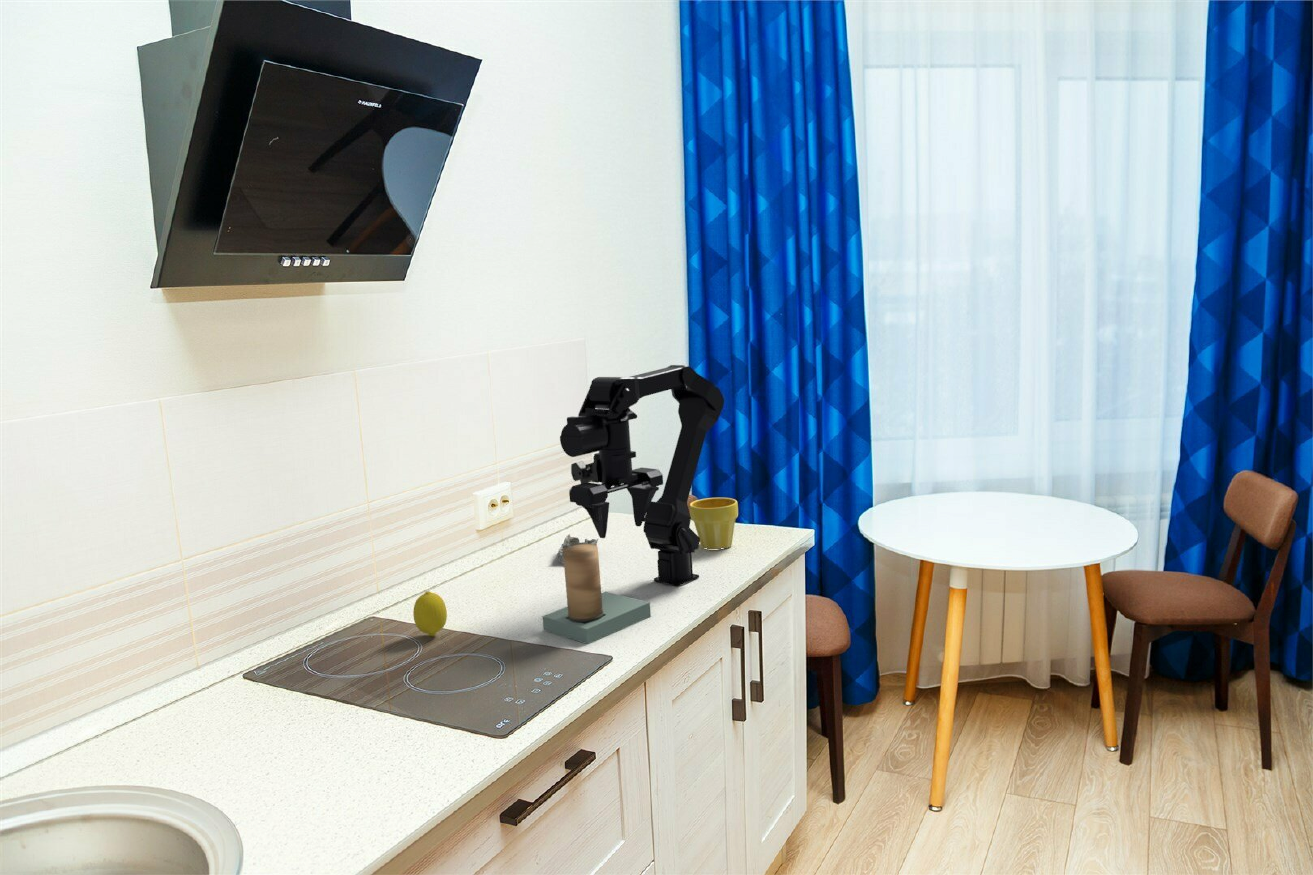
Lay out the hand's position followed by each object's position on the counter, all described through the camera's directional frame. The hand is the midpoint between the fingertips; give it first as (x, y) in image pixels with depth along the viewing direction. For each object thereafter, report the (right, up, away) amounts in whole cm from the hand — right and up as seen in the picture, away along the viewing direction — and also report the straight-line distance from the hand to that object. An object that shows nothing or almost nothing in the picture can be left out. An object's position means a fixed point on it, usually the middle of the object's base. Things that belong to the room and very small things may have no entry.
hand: (620, 531), depth 171 cm
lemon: (-32, -17, -9) cm, 37 cm away
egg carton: (-10, -9, +32) cm, 35 cm away
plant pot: (+19, -7, +33) cm, 39 cm away
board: (-4, -15, -9) cm, 17 cm away
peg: (-5, -15, -12) cm, 20 cm away
